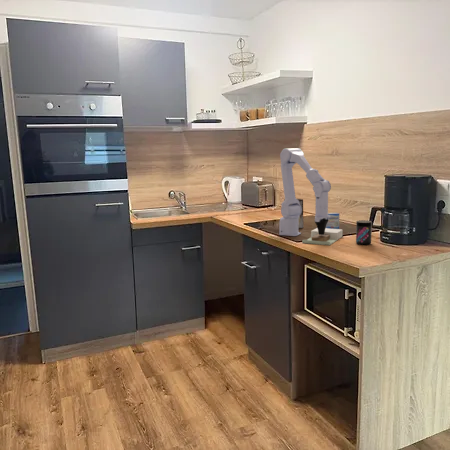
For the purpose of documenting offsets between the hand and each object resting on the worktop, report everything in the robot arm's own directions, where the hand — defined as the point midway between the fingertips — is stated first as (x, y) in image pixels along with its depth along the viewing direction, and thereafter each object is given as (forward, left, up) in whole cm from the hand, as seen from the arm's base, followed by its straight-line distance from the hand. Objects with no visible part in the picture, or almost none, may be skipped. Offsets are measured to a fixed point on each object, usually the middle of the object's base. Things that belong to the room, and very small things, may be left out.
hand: (321, 234), depth 200 cm
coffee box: (-24, +28, -3) cm, 37 cm away
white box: (0, +9, -3) cm, 9 cm away
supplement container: (+20, +1, -3) cm, 20 cm away
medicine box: (-4, +32, -3) cm, 32 cm away
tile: (0, -1, -3) cm, 3 cm away
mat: (0, -2, -3) cm, 4 cm away
